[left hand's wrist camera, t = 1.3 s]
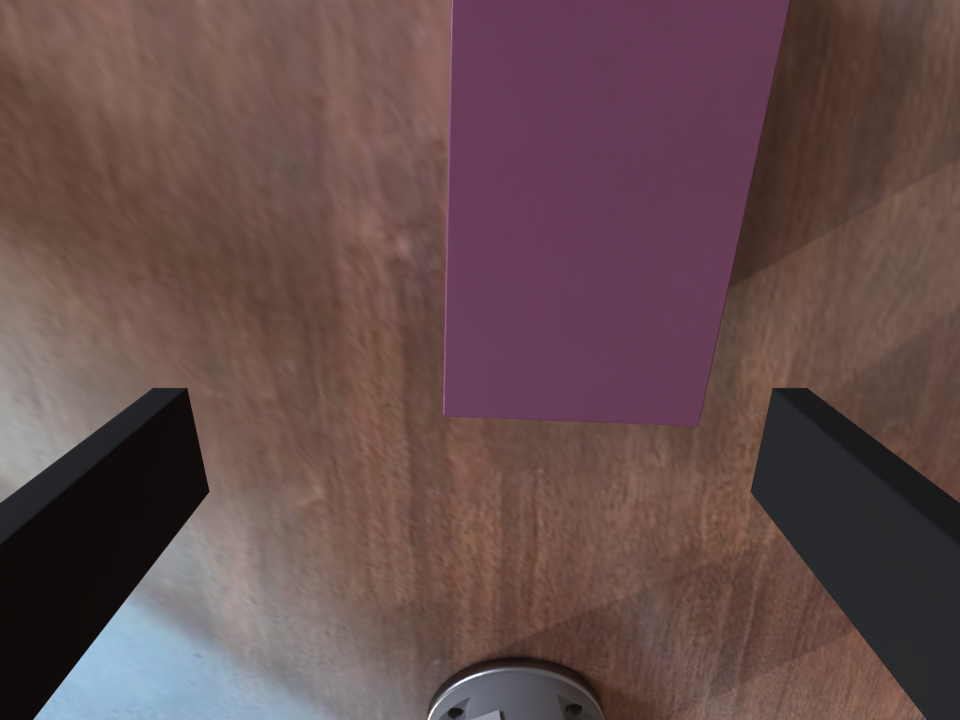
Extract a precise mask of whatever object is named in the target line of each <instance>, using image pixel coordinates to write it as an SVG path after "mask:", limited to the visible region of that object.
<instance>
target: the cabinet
mask: <svg viewBox="0 0 960 720" xmlns="http://www.w3.org/2000/svg"><path fill="white" fill-rule="evenodd" d="M790 1H791V0H452V6H451V54H450V102H449V150H448V198H447V246H446V294H445V342H444V390H443V416H454V417H479V418H505V419H530V420H555V421H581V422H606V423H631V424H657V425H682V426H699V422H700V417H701V412H702V408H703V403H704V399H705V394H706V389H707V385H708V380H709V375H710V371H711V366H712V362H713V357H714V352H715V348H716V343H717V338H718V334H719V329H720V325H721V320H722V315H723V311H724V306H725V301H726V297H727V292H728V288H729V283H730V278H731V274H732V269H733V264H734V260H735V255H736V251H737V246H738V241H739V237H740V232H741V227H742V223H743V218H744V214H745V209H746V204H747V200H748V195H749V190H750V186H751V181H752V177H753V172H754V167H755V163H756V158H757V153H758V149H759V144H760V140H761V135H762V130H763V126H764V121H765V116H766V112H767V107H768V103H769V98H770V93H771V89H772V84H773V79H774V75H775V70H776V66H777V61H778V56H779V52H780V47H781V42H782V38H783V33H784V29H785V24H786V19H787V15H788V10H789V5H790Z"/></svg>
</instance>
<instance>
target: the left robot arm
mask: <svg viewBox="0 0 960 720" xmlns="http://www.w3.org/2000/svg"><path fill="white" fill-rule="evenodd" d="M208 493H209V487H208V483H207V478H206V473H205V469H204V464H203V459H202V455H201V450H200V445H199V441H198V436H197V431H196V427H195V422H194V417H193V413H192V408H191V403H190V399H189V394H188V389H187V388H153V389H151V390H150V391H149V392H147V393H146V394H145V395H143V396H142V397H141V398H139V399H138V400H137V401H135V402H134V403H133V404H131V405H130V406H129V407H127V408H126V409H125V410H123V411H122V412H121V413H119V414H118V415H117V416H115V417H114V418H113V419H111V420H110V421H109V422H107V423H106V424H105V425H103V426H102V427H101V428H99V429H98V430H97V431H96V432H94V433H93V434H92V435H90V436H89V437H88V438H86V439H85V440H84V441H82V442H81V443H80V444H78V445H77V446H76V447H74V448H73V449H72V450H70V451H69V452H68V453H66V454H65V455H64V456H62V457H61V458H60V459H58V460H57V461H56V462H54V463H53V464H52V465H50V466H49V467H48V468H46V469H45V470H44V471H42V472H41V473H40V474H38V475H37V476H36V477H34V478H33V479H32V480H30V481H29V482H28V483H27V484H25V485H24V486H23V487H21V488H20V489H19V490H17V491H16V492H15V493H13V494H12V495H11V496H9V497H8V498H7V499H5V500H4V501H3V502H1V503H0V720H33V719H34V718H35V717H36V715H37V714H38V713H39V711H40V710H41V709H42V708H43V706H44V705H45V704H46V702H47V701H48V700H49V699H50V697H51V696H52V695H53V693H54V692H55V691H56V689H57V688H58V687H59V686H60V684H61V683H62V682H63V680H64V679H65V678H66V677H67V675H68V674H69V673H70V671H71V670H72V669H73V667H74V666H75V665H76V664H77V662H78V661H79V660H80V658H81V657H82V656H83V655H84V653H85V652H86V651H87V649H88V648H89V647H90V645H91V644H92V643H93V642H94V640H95V639H96V638H97V636H98V635H99V634H100V633H101V631H102V630H103V629H104V627H105V626H106V625H107V624H108V622H109V621H110V620H111V618H112V617H113V616H114V614H115V613H116V612H117V611H118V609H119V608H120V607H121V605H122V604H123V603H124V602H125V600H126V599H127V598H128V596H129V595H130V594H131V592H132V591H133V590H134V589H135V587H136V586H137V585H138V583H139V582H140V581H141V580H142V578H143V577H144V576H145V574H146V573H147V572H148V570H149V569H150V568H151V567H152V565H153V564H154V563H155V561H156V560H157V559H158V558H159V556H160V555H161V554H162V552H163V551H164V550H165V548H166V547H167V546H168V545H169V543H170V542H171V541H172V539H173V538H174V537H175V536H176V534H177V533H178V532H179V530H180V529H181V528H182V527H183V525H184V524H185V523H186V521H187V520H188V519H189V517H190V516H191V515H192V514H193V512H194V511H195V510H196V508H197V507H198V506H199V505H200V503H201V502H202V501H203V499H204V498H205V497H206V495H207V494H208ZM751 493H752V494H753V495H754V497H755V498H756V499H757V501H758V502H759V503H760V505H761V506H762V507H763V508H764V510H765V511H766V512H767V514H768V515H769V516H770V517H771V519H772V520H773V521H774V523H775V524H776V525H777V527H778V528H779V529H780V530H781V532H782V533H783V534H784V536H785V537H786V538H787V539H788V541H789V542H790V543H791V545H792V546H793V547H794V548H795V550H796V551H797V552H798V554H799V555H800V556H801V558H802V559H803V560H804V561H805V563H806V564H807V565H808V567H809V568H810V569H811V570H812V572H813V573H814V574H815V576H816V577H817V578H818V580H819V581H820V582H821V583H822V585H823V586H824V587H825V589H826V590H827V591H828V592H829V594H830V595H831V596H832V598H833V599H834V600H835V602H836V603H837V604H838V605H839V607H840V608H841V609H842V611H843V612H844V613H845V614H846V616H847V617H848V618H849V620H850V621H851V622H852V624H853V625H854V626H855V627H856V629H857V630H858V631H859V633H860V634H861V635H862V636H863V638H864V639H865V640H866V642H867V643H868V644H869V645H870V647H871V648H872V649H873V651H874V652H875V653H876V655H877V656H878V657H879V658H880V660H881V661H882V662H883V664H884V665H885V666H886V667H887V669H888V670H889V671H890V673H891V674H892V675H893V677H894V678H895V679H896V680H897V682H898V683H899V684H900V686H901V687H902V688H903V689H904V691H905V692H906V693H907V695H908V696H909V697H910V699H911V700H912V701H913V702H914V704H915V705H916V706H917V708H918V709H919V710H920V711H921V713H922V714H923V715H924V717H925V718H926V719H927V720H960V503H959V502H957V501H956V500H955V499H953V498H952V497H951V496H949V495H948V494H947V493H945V492H944V491H943V490H941V489H940V488H939V487H937V486H936V485H935V484H933V483H932V482H931V481H930V480H928V479H927V478H926V477H924V476H923V475H922V474H920V473H919V472H918V471H916V470H915V469H914V468H912V467H911V466H910V465H908V464H907V463H906V462H904V461H903V460H902V459H900V458H899V457H898V456H896V455H895V454H894V453H892V452H891V451H890V450H888V449H887V448H886V447H884V446H883V445H882V444H880V443H879V442H878V441H876V440H875V439H874V438H872V437H871V436H870V435H868V434H867V433H866V432H864V431H863V430H862V429H861V428H859V427H858V426H857V425H855V424H854V423H853V422H851V421H850V420H849V419H847V418H846V417H845V416H843V415H842V414H841V413H839V412H838V411H837V410H835V409H834V408H833V407H831V406H830V405H829V404H827V403H826V402H825V401H823V400H822V399H821V398H819V397H818V396H817V395H815V394H814V393H813V392H811V391H810V390H809V389H807V388H773V389H772V394H771V399H770V403H769V408H768V413H767V417H766V422H765V427H764V431H763V436H762V441H761V445H760V450H759V455H758V459H757V464H756V469H755V473H754V478H753V483H752V487H751ZM427 720H604V716H603V711H602V706H601V703H600V700H599V698H598V696H597V694H596V693H595V691H594V690H593V688H592V687H591V686H590V685H589V684H588V683H587V682H586V681H585V680H584V679H583V678H581V677H580V676H579V675H577V674H576V673H574V672H573V671H571V670H569V669H567V668H565V667H563V666H560V665H557V664H555V663H551V662H548V661H544V660H539V659H532V658H501V659H494V660H490V661H485V662H482V663H478V664H475V665H473V666H470V667H468V668H466V669H464V670H462V671H460V672H458V673H457V674H455V675H454V676H452V677H451V678H449V679H448V680H447V681H446V682H445V683H444V684H443V685H442V686H441V687H440V688H439V689H438V690H437V692H436V693H435V694H434V696H433V698H432V700H431V702H430V705H429V708H428V712H427Z"/></svg>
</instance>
